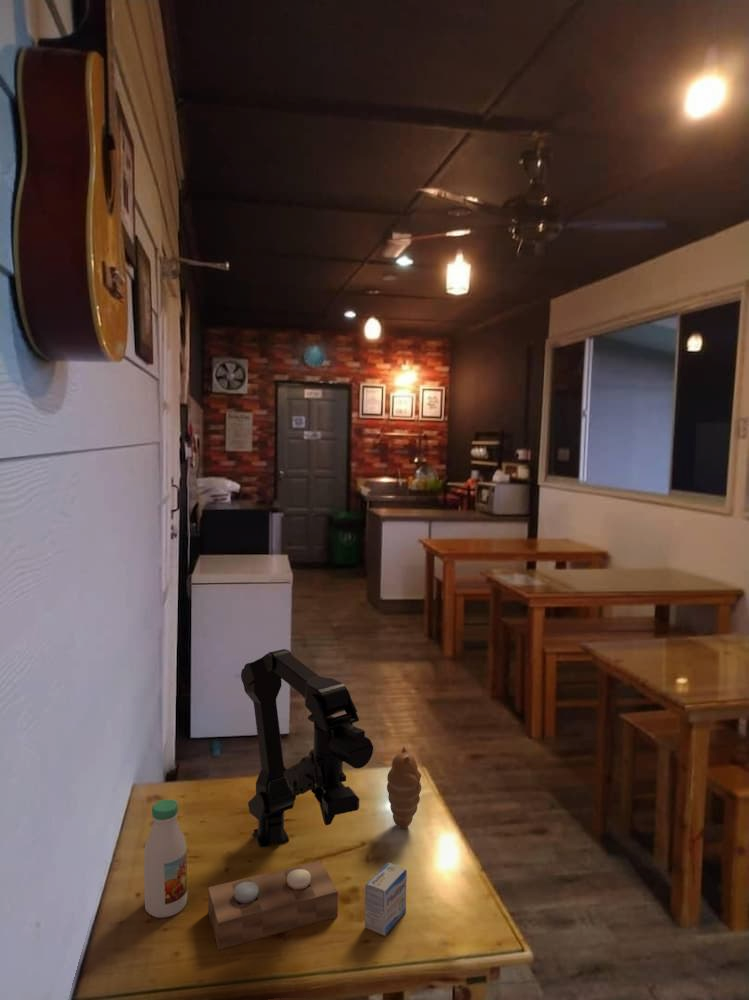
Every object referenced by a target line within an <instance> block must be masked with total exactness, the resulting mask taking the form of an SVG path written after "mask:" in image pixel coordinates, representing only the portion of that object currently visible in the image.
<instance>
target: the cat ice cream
mask: <svg viewBox="0 0 749 1000" xmlns="http://www.w3.org/2000/svg"><path fill="white" fill-rule="evenodd" d="M416 761H417V760H416V759H415V757H414V756H412V755H411V754H409V753H408V751H407V748H406V746H403V747H402V750H401V753H398V754H396V755H395V756H394V758H393V759H392V762H391V768H390V770H389V771H388V773H387V777H386V778H387V780H386V781H387V784H386V789H387V791H386V792H388V796H387V797H388V802H389V804H390V811H391V813H392V820H393V823H394V825H396V826H397V827H398V828H400V829H407V828H408V827H409V826H410V825H411V824H412V823H413V819H414V818H413V817H414V816H415V815H416V813H417V811H418V805H419V803H420V794H421V792H422V785H421V784H422V783H421V779H422V778H421V777H422V774H421V772H420V771H419V767H418V765H417V762H416Z"/></svg>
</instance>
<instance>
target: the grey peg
mask: <svg viewBox="0 0 749 1000" xmlns="http://www.w3.org/2000/svg"><path fill="white" fill-rule="evenodd" d="M257 897H258V886H257V884H255V883H253V882H243V883H240V884H238V885H237V886H236V887H235V889H234V898H235V900H236V901H238V905H240V904H244V903H248V902H252V901H254V900H255V899H256V898H257Z"/></svg>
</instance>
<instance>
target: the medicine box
mask: <svg viewBox="0 0 749 1000" xmlns="http://www.w3.org/2000/svg"><path fill="white" fill-rule="evenodd" d="M407 871H408V870H407V869H405V868H404V867H401V866H399V865H397V864H394V863H391V862H386V863H385V865H383V867H382V868H380V870H378V871H377V872H376V873H375V875H373V876H372V878H370V880H369V881H368V882H367V883H365V886H364V887H365V888H364V927H365V929H368V930H371V932H374V933H376V934H380V935H382V936H384V937H386V935H388V933H389V932H390V931H391V930H392V929H393V927H394V926H395V925H396V923H397V922H398V921H400V919H401V918H402V916H403V915H404V914H405V913H406V912H407V878H408V877H407V875H408V873H407Z"/></svg>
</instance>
